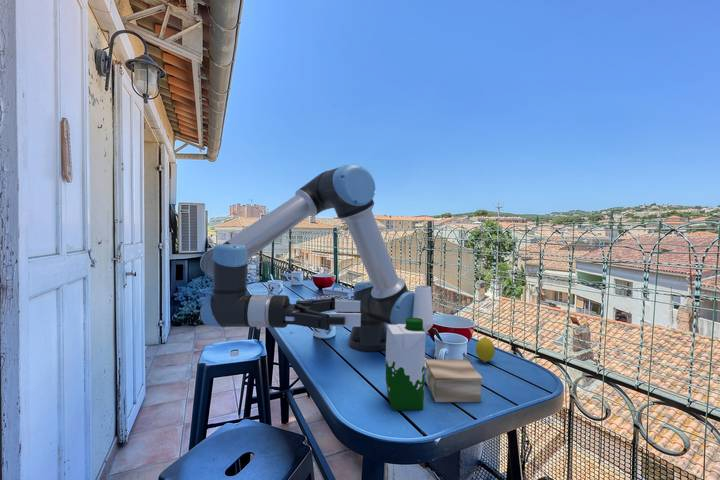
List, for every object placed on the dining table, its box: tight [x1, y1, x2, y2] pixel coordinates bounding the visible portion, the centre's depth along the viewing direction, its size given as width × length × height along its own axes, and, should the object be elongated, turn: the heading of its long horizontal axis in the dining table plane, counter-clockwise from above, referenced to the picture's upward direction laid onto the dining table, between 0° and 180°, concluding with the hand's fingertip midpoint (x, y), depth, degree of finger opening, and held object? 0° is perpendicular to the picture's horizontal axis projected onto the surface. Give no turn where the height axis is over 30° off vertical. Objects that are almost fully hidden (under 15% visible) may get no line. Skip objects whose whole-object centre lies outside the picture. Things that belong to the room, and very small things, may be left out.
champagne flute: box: [412, 285, 435, 369], centre depth 103 cm, size 7×7×24 cm
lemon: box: [475, 336, 496, 363], centre depth 104 cm, size 6×6×8 cm
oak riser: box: [425, 358, 484, 403], centre depth 85 cm, size 12×12×6 cm
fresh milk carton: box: [385, 318, 427, 412], centre depth 79 cm, size 9×9×20 cm
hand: (360, 312), depth 78 cm, fingers open, 13 cm apart
